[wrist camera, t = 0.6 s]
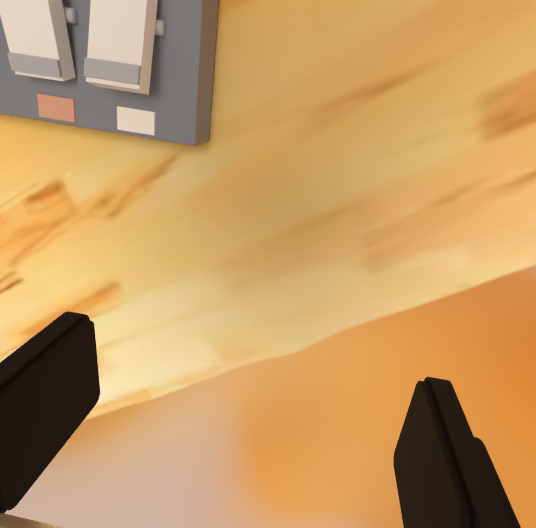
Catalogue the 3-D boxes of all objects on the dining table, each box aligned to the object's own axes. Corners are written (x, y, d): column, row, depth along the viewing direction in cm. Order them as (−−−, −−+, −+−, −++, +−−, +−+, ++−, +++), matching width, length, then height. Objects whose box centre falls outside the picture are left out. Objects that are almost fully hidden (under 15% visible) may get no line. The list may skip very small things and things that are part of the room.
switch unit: (-65, -113, 31) (-132, -148, 27) (224, -81, 29) (204, -113, 25) (-30, 101, 38) (-79, 102, 33) (208, 140, 36) (190, 146, 31)
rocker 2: (107, -49, 27) (91, -66, 25) (161, -43, 27) (150, -60, 25) (98, 87, 29) (83, 80, 27) (148, 94, 29) (137, 88, 27)
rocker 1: (-6, -77, 26) (-29, -81, 25) (49, -70, 26) (30, -74, 24) (29, 70, 31) (12, 74, 30) (75, 77, 31) (61, 82, 29)
